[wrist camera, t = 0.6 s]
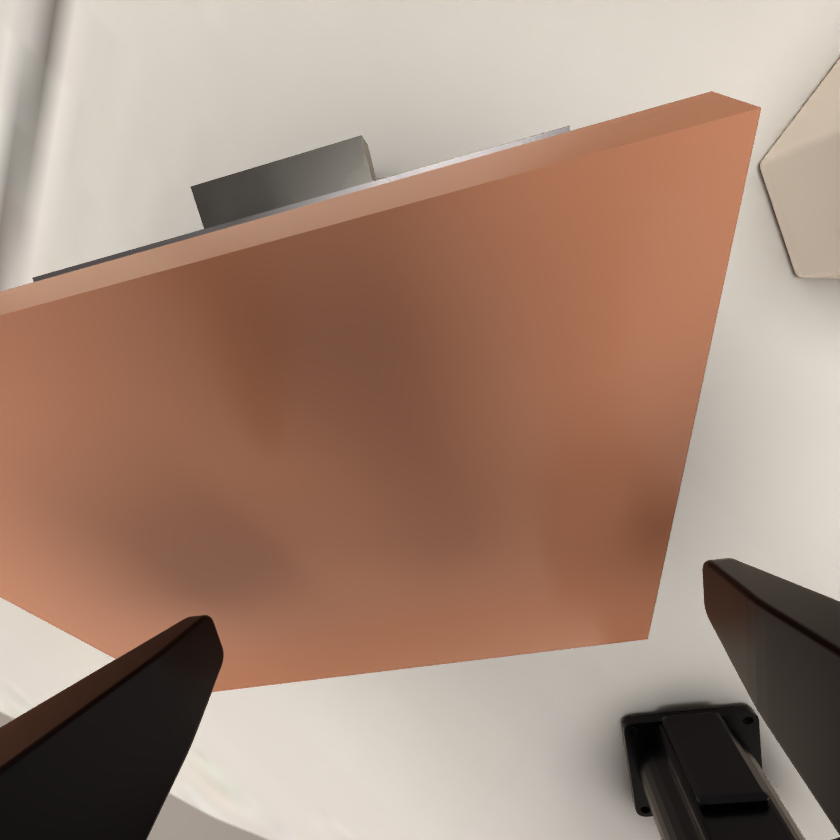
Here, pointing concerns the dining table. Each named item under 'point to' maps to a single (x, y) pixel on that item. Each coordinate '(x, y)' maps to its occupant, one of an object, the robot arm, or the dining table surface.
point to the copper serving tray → (381, 410)
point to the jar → (809, 182)
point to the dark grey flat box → (291, 187)
